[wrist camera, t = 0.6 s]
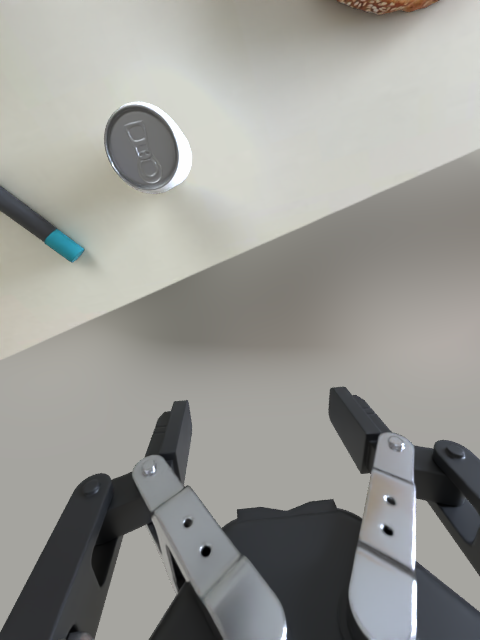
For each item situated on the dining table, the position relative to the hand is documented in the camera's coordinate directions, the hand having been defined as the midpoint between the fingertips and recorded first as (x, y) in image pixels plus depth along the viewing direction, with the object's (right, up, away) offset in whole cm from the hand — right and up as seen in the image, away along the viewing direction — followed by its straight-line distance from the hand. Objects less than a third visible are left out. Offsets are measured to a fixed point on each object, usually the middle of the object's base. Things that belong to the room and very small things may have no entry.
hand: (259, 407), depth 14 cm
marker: (-27, +19, +17) cm, 37 cm away
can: (-10, +24, +16) cm, 31 cm away
